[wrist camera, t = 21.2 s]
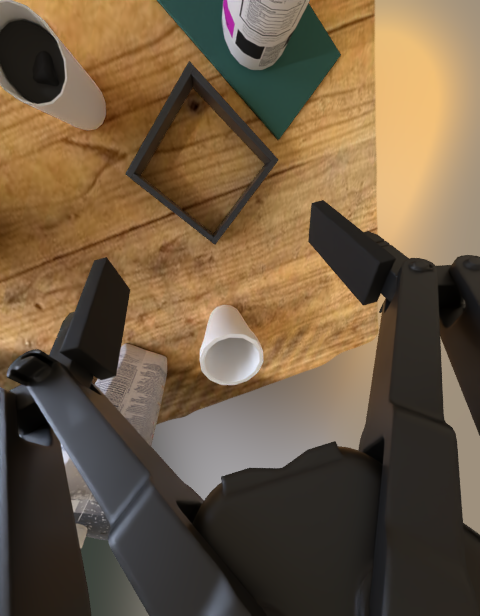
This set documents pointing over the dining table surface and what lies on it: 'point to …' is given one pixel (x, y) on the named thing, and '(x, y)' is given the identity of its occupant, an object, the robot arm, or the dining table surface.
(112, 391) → the juice carton
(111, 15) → the dining table surface
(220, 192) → the dining table surface
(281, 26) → the supplement can
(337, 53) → the mat
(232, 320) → the foam cup
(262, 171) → the square frame
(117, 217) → the dining table surface
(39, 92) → the white coffee cup
